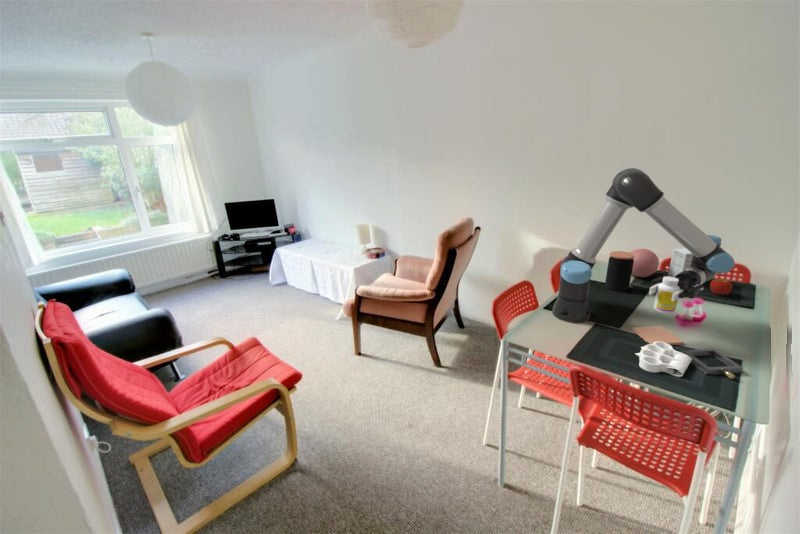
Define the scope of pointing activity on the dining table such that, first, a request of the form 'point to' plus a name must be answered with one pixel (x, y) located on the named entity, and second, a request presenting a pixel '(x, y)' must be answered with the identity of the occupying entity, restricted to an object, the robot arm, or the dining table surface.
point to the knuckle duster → (663, 359)
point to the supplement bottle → (666, 295)
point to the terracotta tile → (657, 335)
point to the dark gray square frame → (726, 370)
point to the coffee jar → (619, 270)
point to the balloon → (644, 263)
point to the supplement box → (679, 261)
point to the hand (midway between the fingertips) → (661, 294)
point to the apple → (720, 286)
